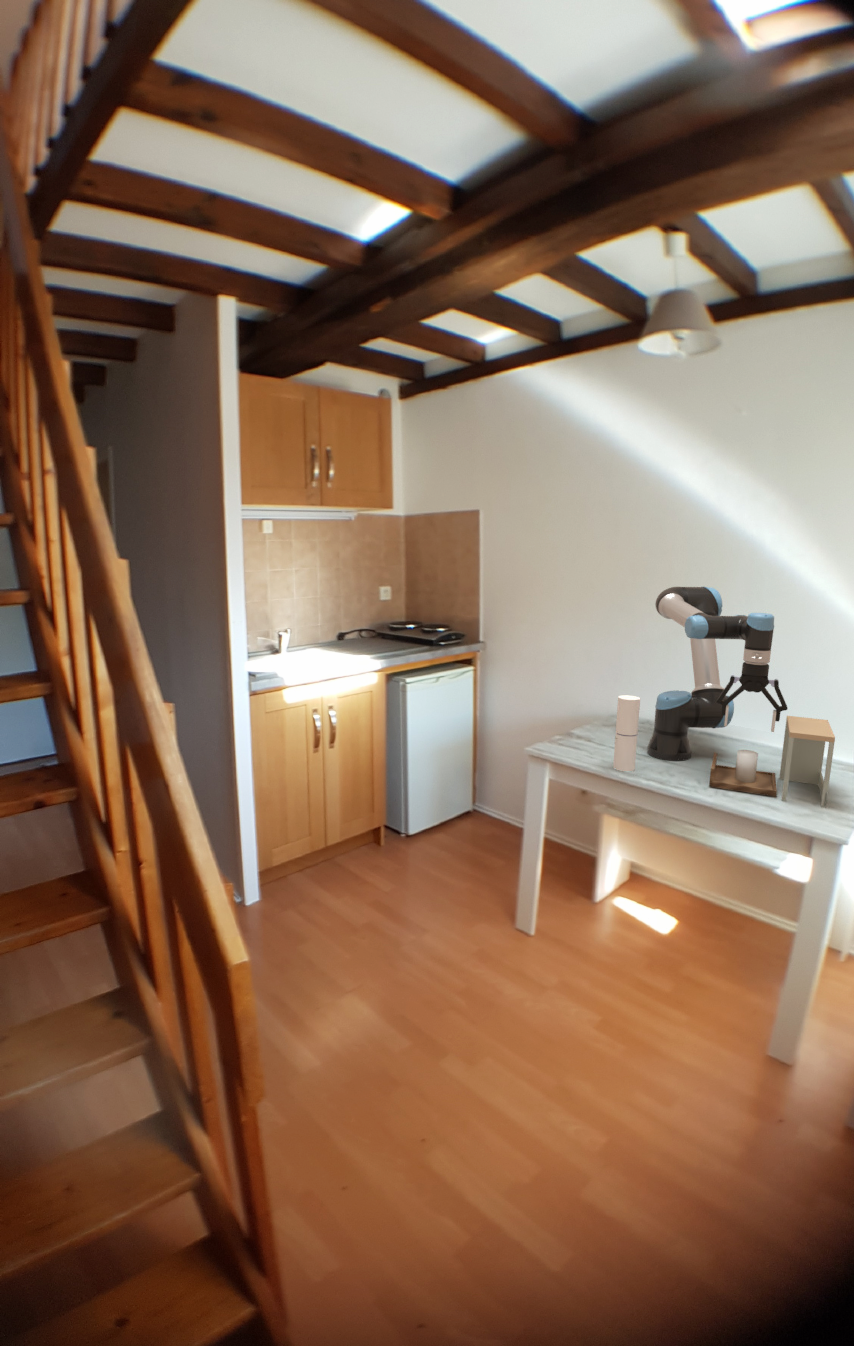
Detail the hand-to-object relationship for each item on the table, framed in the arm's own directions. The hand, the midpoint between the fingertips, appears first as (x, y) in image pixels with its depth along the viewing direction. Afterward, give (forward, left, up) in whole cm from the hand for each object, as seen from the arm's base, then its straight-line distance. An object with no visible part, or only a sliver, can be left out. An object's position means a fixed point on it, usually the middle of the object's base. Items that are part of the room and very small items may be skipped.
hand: (748, 728), depth 215 cm
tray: (0, 0, -19) cm, 19 cm away
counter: (+17, 0, -19) cm, 25 cm away
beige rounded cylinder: (+1, 0, -17) cm, 17 cm away
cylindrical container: (-37, -3, -19) cm, 42 cm away
